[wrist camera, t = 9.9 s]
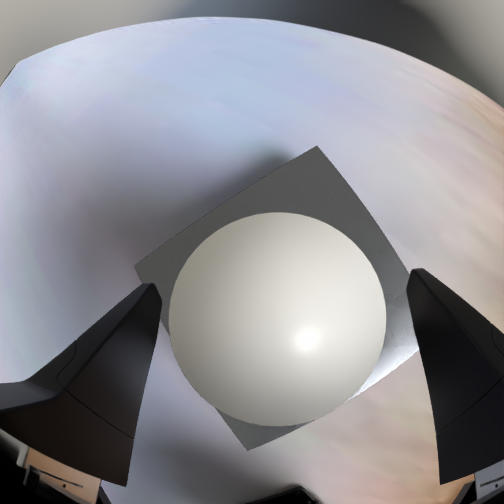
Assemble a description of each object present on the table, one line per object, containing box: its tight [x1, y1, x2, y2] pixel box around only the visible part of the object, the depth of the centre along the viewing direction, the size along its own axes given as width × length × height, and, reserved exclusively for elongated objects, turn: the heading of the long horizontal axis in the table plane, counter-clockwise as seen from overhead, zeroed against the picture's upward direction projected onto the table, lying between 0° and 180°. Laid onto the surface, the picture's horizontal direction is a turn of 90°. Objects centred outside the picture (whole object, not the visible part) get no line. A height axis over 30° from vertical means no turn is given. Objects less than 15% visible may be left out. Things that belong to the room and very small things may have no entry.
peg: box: [169, 212, 386, 426], centre depth 11 cm, size 4×4×13 cm
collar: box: [134, 146, 419, 451], centre depth 16 cm, size 13×13×4 cm
